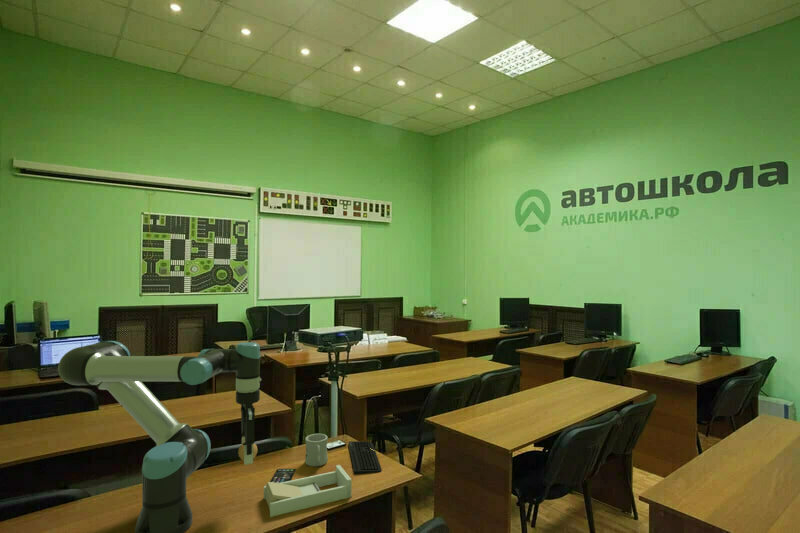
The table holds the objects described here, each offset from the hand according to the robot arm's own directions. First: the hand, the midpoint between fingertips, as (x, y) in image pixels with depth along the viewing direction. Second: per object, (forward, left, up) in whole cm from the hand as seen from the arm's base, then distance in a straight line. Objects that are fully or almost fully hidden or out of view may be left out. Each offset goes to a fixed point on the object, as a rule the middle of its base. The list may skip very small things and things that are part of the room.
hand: (247, 459), depth 143 cm
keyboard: (+49, +16, -15) cm, 54 cm away
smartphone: (+14, +13, -15) cm, 24 cm away
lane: (+19, -5, -15) cm, 25 cm away
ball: (0, 0, +3) cm, 3 cm away
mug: (+29, +19, -15) cm, 38 cm away
